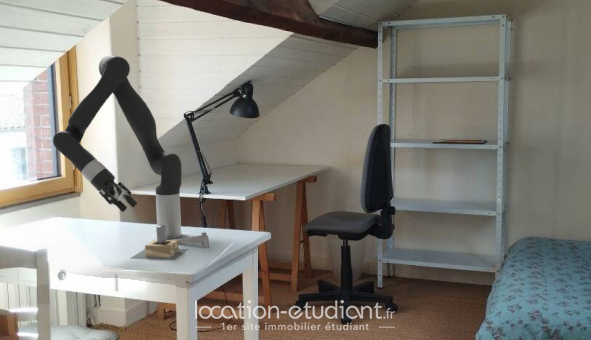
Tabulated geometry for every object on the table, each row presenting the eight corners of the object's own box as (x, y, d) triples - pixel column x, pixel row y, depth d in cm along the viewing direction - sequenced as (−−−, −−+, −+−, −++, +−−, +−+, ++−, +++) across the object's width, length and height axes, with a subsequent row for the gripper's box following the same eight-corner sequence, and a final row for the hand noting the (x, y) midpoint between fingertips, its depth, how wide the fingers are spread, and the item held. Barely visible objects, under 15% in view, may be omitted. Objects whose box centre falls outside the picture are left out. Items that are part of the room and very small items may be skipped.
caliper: (209, 249, 238) (209, 232, 237) (207, 249, 237) (207, 232, 236) (164, 243, 247) (164, 227, 246) (162, 244, 246) (162, 228, 245)
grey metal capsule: (159, 252, 231) (158, 224, 229) (168, 252, 230) (167, 225, 229) (156, 254, 228) (155, 226, 226) (164, 255, 227) (163, 227, 226)
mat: (147, 248, 238) (147, 247, 238) (189, 250, 236) (189, 248, 235) (130, 259, 224) (129, 258, 224) (174, 261, 221) (174, 259, 221)
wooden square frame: (155, 250, 234) (154, 239, 233) (178, 251, 232) (178, 240, 232) (145, 256, 225) (145, 245, 225) (169, 257, 224) (169, 246, 223)
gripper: (95, 170, 221) (128, 204, 221) (113, 165, 235) (145, 197, 235) (81, 185, 223) (114, 219, 222) (100, 179, 237) (132, 211, 236)
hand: (130, 207), depth 229 cm, fingers open, 8 cm apart
